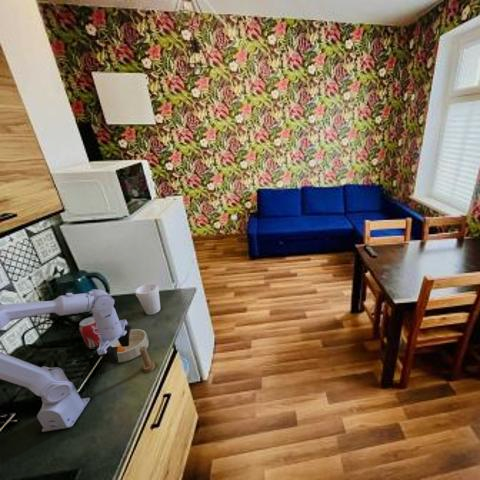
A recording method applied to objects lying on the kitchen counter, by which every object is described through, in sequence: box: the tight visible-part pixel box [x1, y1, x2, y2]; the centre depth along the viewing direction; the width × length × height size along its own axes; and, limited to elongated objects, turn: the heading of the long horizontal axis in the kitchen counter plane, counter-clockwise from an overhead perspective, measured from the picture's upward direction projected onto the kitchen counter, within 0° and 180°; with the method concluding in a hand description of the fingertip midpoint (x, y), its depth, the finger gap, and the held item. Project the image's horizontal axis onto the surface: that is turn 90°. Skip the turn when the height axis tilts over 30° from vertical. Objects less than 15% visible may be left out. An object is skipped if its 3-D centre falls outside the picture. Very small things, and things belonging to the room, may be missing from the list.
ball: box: [117, 346, 125, 352], centre depth 106 cm, size 3×3×3 cm
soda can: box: [78, 316, 101, 350], centre depth 110 cm, size 7×7×12 cm
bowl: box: [110, 328, 150, 363], centre depth 108 cm, size 13×13×5 cm
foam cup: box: [134, 282, 161, 316], centre depth 130 cm, size 10×9×13 cm
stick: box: [139, 346, 156, 373], centre depth 99 cm, size 4×4×10 cm
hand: (120, 354), depth 94 cm, fingers open, 7 cm apart
